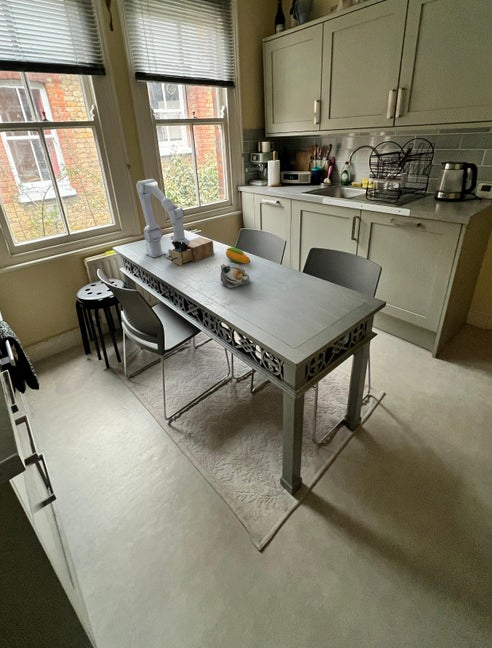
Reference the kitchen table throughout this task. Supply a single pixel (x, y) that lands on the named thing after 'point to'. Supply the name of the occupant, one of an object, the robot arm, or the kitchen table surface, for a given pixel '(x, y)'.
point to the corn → (237, 255)
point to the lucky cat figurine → (233, 275)
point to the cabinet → (201, 248)
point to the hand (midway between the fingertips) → (181, 254)
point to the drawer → (177, 257)
